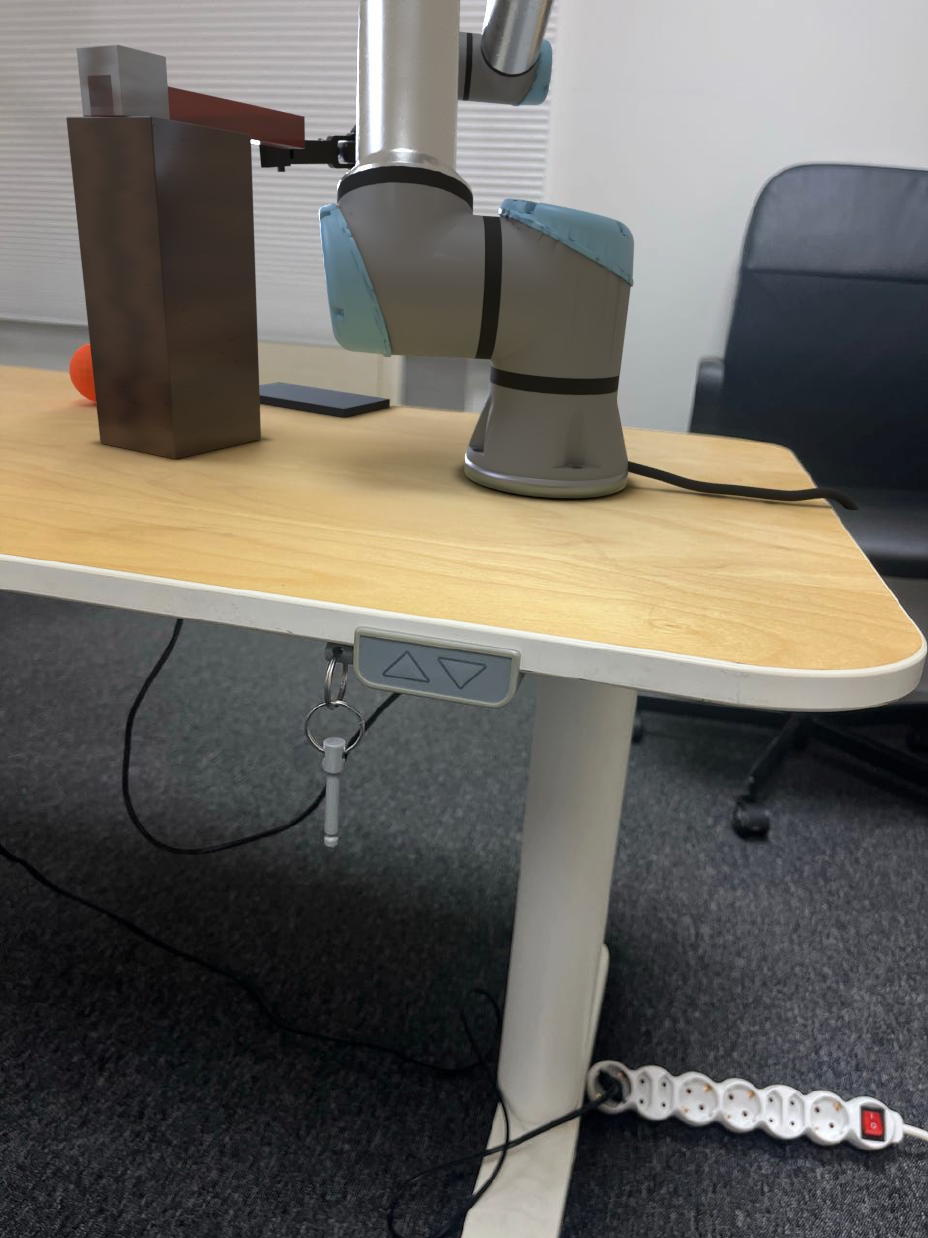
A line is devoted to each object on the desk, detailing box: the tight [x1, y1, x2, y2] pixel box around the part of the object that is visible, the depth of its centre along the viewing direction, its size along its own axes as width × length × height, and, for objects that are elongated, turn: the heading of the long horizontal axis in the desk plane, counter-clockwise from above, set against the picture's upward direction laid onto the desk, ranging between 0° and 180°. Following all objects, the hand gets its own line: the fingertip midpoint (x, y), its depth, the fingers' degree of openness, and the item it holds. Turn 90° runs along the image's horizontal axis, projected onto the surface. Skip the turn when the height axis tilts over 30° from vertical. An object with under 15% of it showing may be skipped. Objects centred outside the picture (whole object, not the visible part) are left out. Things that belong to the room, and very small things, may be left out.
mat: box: [259, 381, 391, 418], centre depth 114 cm, size 18×10×1 cm, turn 61°
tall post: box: [65, 116, 262, 460], centre depth 84 cm, size 10×12×28 cm
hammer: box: [75, 44, 306, 149], centre depth 82 cm, size 5×24×5 cm, turn 149°
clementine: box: [68, 342, 96, 403], centre depth 104 cm, size 8×7×7 cm
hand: (324, 153), depth 92 cm, fingers open, 13 cm apart
